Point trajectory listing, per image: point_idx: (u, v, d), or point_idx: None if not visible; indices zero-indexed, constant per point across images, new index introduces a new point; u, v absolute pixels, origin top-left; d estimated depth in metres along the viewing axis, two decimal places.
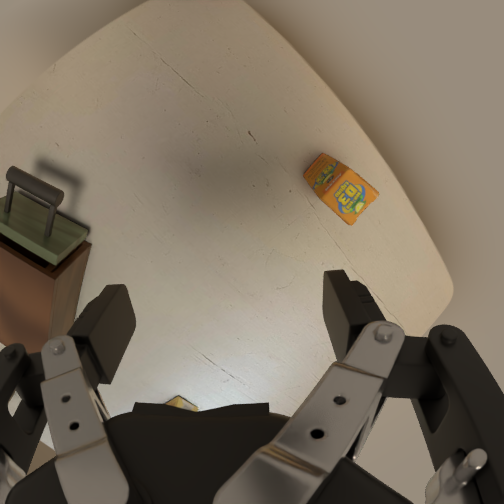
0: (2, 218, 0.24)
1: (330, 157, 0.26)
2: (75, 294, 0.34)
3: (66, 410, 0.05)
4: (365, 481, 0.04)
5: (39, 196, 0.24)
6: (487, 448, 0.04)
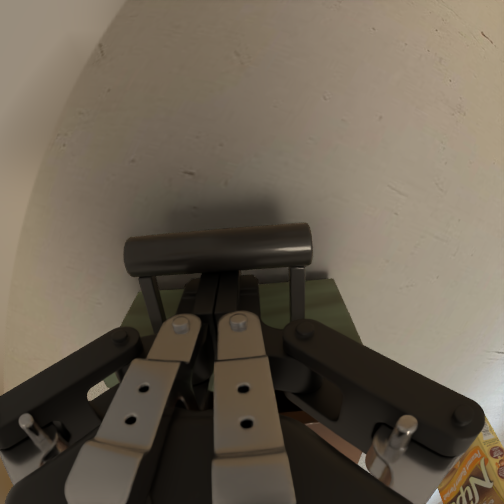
0: None
1: None
2: None
3: (135, 401, 0.06)
4: (364, 481, 0.04)
5: (256, 264, 0.12)
6: (410, 411, 0.05)
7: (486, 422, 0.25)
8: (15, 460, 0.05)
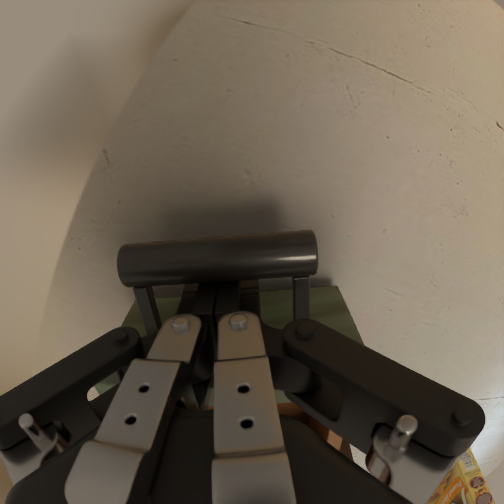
0: None
1: None
2: None
3: (135, 401, 0.06)
4: (365, 481, 0.04)
5: (258, 275, 0.11)
6: (410, 411, 0.05)
7: (469, 454, 0.27)
8: (14, 460, 0.05)
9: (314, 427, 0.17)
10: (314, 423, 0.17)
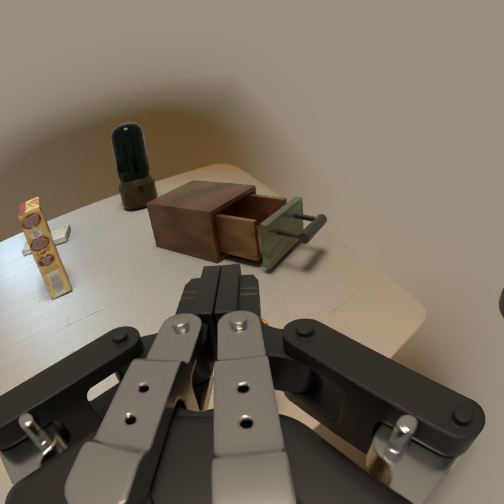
0: (293, 208, 0.48)
1: None
2: (185, 246, 0.52)
3: (135, 401, 0.06)
4: (365, 482, 0.04)
5: (306, 227, 0.44)
6: (410, 411, 0.05)
7: (51, 287, 0.44)
8: (14, 460, 0.05)
9: None
10: None
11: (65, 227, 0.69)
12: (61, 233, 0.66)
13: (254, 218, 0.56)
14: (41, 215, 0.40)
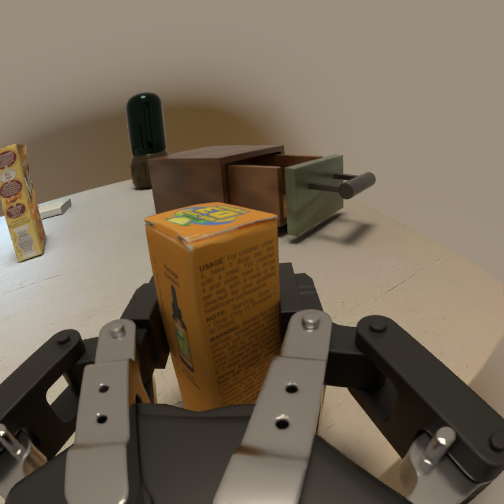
0: (332, 163, 0.35)
1: None
2: None
3: (100, 401, 0.06)
4: (365, 482, 0.04)
5: (350, 180, 0.30)
6: (452, 424, 0.05)
7: (18, 247, 0.33)
8: None
9: None
10: None
11: (64, 201, 0.60)
12: (58, 205, 0.57)
13: None
14: (17, 154, 0.30)
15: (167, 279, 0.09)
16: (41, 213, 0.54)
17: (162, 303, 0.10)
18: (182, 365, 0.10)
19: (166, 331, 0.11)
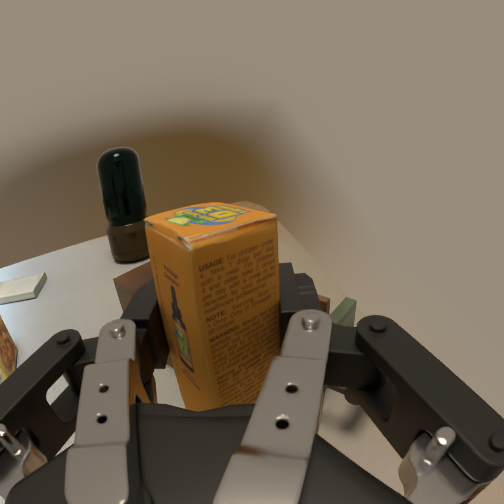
0: (341, 324, 0.27)
1: None
2: None
3: (100, 401, 0.06)
4: (365, 481, 0.04)
5: None
6: (452, 424, 0.05)
7: None
8: None
9: None
10: None
11: (39, 276, 0.52)
12: (31, 285, 0.49)
13: None
14: None
15: (167, 279, 0.09)
16: (14, 296, 0.46)
17: (162, 303, 0.10)
18: (182, 365, 0.10)
19: (166, 331, 0.11)
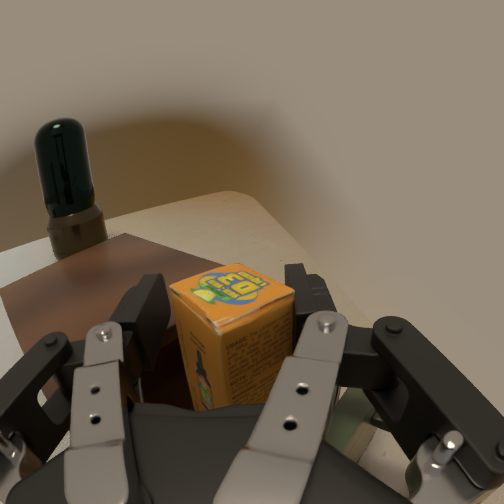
0: None
1: None
2: None
3: (92, 402, 0.06)
4: (365, 481, 0.04)
5: None
6: (460, 428, 0.05)
7: None
8: None
9: None
10: None
11: None
12: None
13: None
14: None
15: (193, 343, 0.10)
16: None
17: (186, 357, 0.11)
18: (203, 408, 0.11)
19: (188, 378, 0.12)
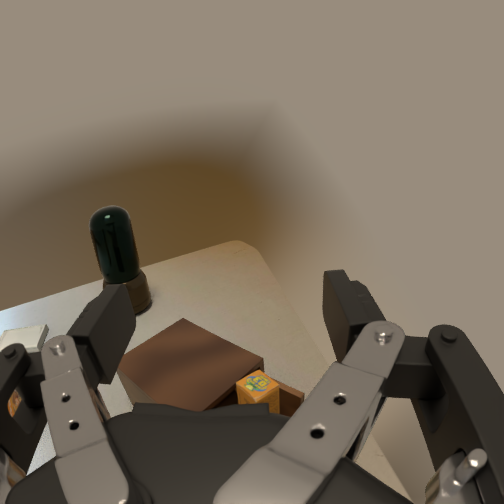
0: None
1: None
2: None
3: (66, 410, 0.05)
4: (365, 481, 0.04)
5: None
6: (487, 448, 0.04)
7: None
8: None
9: None
10: None
11: (41, 328, 0.54)
12: (34, 338, 0.51)
13: None
14: None
15: (245, 401, 0.28)
16: None
17: None
18: None
19: None
